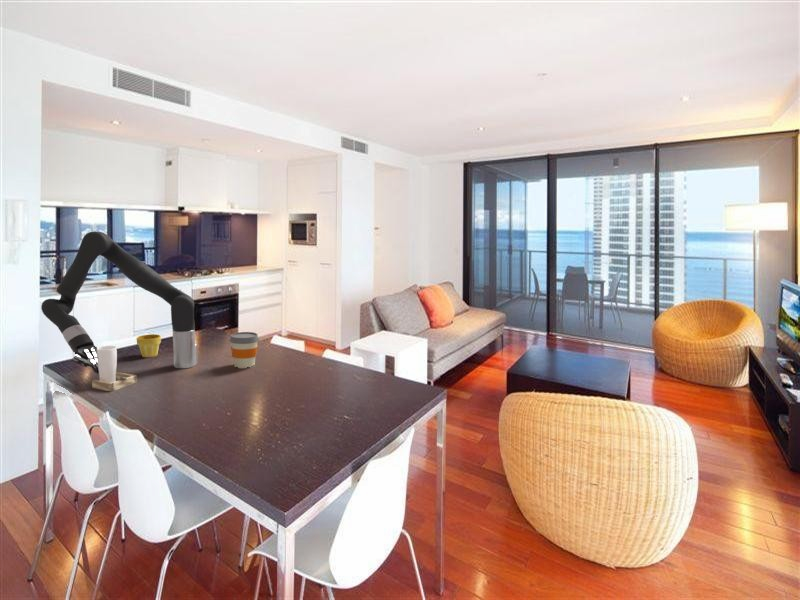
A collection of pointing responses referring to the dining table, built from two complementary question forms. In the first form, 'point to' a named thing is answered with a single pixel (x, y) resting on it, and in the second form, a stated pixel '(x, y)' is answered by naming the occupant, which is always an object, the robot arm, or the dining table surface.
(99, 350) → the drinking glass
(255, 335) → the reusable coffee cup
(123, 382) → the oak dock
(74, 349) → the robot arm
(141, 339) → the plant pot
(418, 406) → the dining table surface
